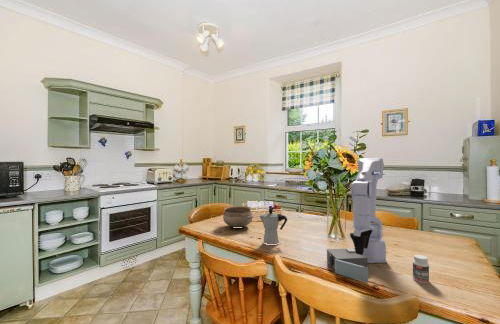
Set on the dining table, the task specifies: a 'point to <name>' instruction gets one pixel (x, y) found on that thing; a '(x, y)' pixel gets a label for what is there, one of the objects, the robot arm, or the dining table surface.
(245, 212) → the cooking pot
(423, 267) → the pill bottle
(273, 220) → the coffee maker
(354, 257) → the camera housing
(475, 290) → the dining table surface
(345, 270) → the side door
